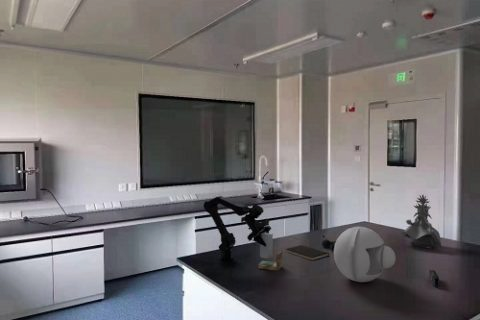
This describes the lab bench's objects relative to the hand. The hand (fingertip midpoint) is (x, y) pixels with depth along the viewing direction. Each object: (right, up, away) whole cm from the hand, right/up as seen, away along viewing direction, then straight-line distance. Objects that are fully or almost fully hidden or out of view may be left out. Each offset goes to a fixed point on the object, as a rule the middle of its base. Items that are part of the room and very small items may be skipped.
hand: (268, 244), depth 204 cm
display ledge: (+1, -13, +1) cm, 13 cm away
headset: (+48, -12, +38) cm, 62 cm away
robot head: (+47, -14, -21) cm, 53 cm away
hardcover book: (+27, -13, +27) cm, 40 cm away
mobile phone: (+82, -14, -24) cm, 87 cm away
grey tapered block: (-1, -7, +1) cm, 7 cm away
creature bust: (+108, -11, +41) cm, 116 cm away
